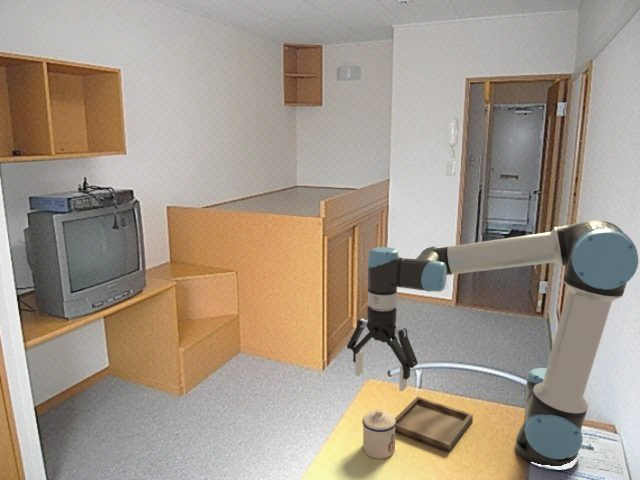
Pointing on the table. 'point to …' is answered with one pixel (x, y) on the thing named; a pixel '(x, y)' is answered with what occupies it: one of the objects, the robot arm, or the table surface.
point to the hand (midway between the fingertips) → (380, 381)
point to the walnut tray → (433, 424)
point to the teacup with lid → (379, 434)
